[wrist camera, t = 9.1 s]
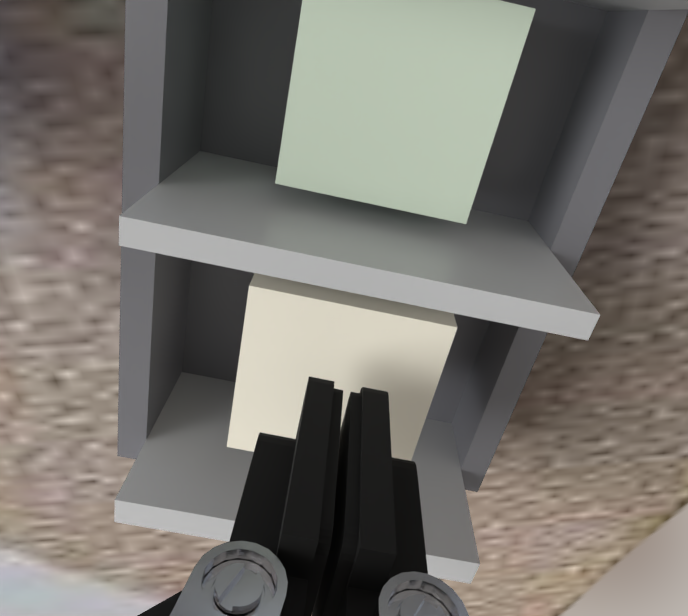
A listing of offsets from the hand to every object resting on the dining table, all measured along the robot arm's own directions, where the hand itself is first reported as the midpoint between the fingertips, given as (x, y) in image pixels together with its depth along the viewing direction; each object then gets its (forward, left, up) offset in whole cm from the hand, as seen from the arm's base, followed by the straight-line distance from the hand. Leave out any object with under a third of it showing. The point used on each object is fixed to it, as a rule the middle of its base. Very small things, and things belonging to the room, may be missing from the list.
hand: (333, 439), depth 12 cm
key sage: (-6, 0, -6) cm, 9 cm away
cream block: (0, 0, -4) cm, 4 cm away
